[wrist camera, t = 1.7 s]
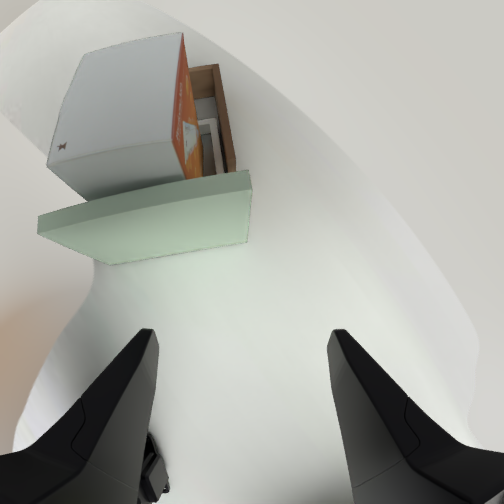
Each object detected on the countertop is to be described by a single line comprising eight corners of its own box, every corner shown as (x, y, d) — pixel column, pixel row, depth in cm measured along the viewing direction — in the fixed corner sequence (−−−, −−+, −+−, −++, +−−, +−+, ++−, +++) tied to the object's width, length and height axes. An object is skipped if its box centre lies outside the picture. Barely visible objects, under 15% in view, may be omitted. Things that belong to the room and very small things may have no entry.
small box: (207, 233, 23) (173, 141, 10) (132, 239, 22) (41, 168, 10) (204, 146, 24) (184, 28, 12) (137, 155, 24) (80, 53, 11)
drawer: (110, 265, 22) (37, 233, 12) (109, 150, 24) (63, 83, 14) (246, 242, 23) (252, 189, 13) (226, 125, 25) (222, 42, 15)
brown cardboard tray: (108, 206, 23) (88, 188, 19) (113, 113, 25) (100, 90, 21) (236, 182, 24) (235, 158, 20) (220, 91, 26) (218, 63, 22)
